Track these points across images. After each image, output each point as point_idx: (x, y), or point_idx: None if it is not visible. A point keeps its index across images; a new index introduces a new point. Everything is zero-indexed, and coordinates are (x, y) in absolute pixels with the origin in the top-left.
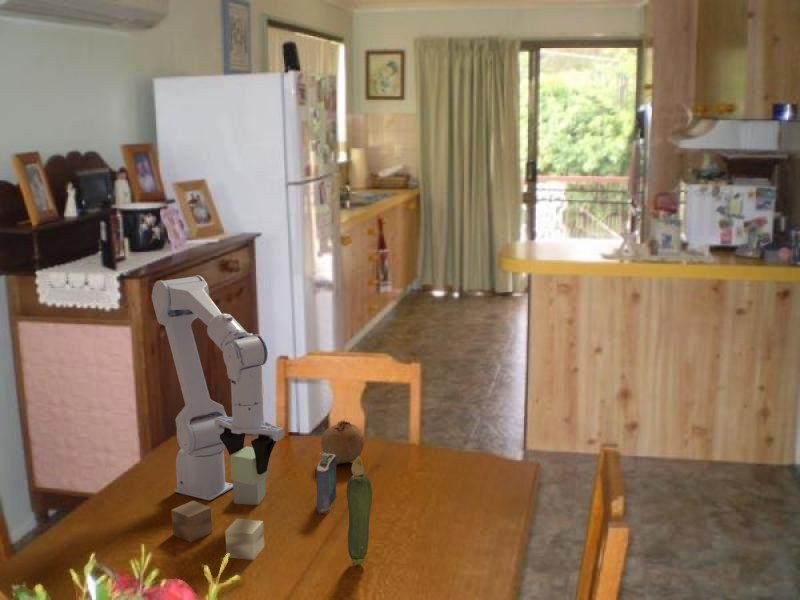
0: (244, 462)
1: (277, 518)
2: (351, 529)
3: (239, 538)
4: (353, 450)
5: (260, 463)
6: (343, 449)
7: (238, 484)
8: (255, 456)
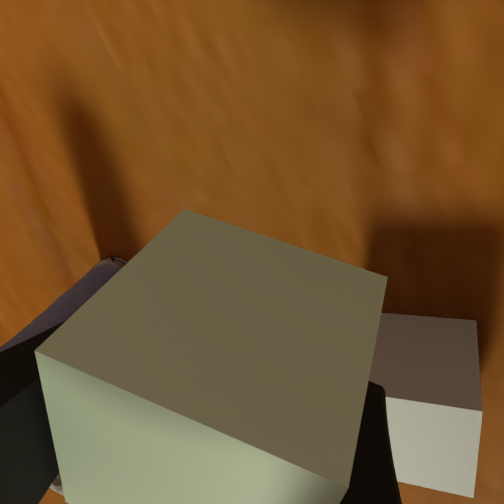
0: (159, 351)
1: (231, 208)
2: None
3: None
4: None
5: (35, 336)
6: None
7: (446, 387)
8: (12, 396)
